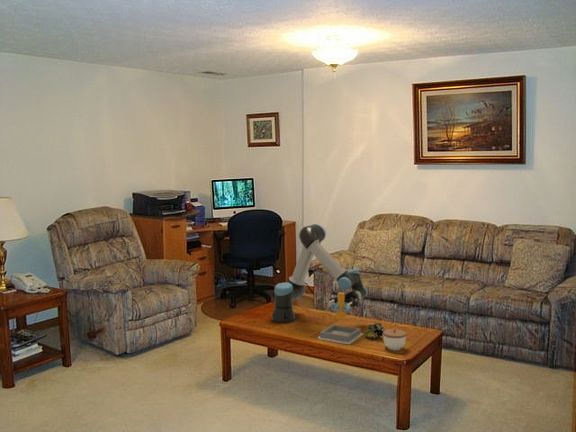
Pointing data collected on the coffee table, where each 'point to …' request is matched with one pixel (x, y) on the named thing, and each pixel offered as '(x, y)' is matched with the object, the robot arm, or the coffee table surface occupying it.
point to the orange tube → (340, 306)
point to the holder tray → (340, 334)
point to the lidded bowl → (394, 338)
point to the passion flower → (375, 330)
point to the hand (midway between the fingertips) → (338, 305)
